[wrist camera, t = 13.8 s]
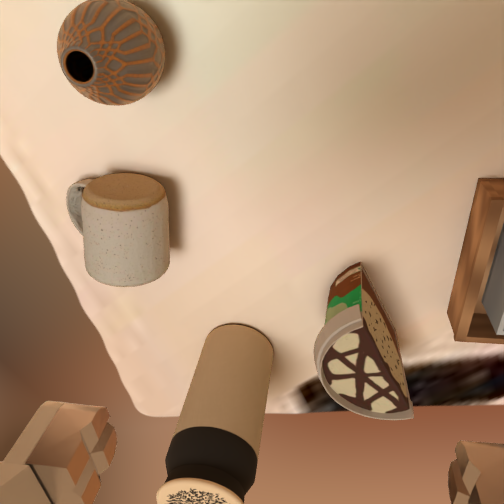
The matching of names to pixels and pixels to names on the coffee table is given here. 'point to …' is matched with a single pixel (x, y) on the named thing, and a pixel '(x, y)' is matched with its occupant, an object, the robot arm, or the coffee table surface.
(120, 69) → the vase
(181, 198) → the coffee table surface
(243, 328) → the travel mug
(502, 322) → the small crate
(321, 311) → the coffee table surface
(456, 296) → the big crate
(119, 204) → the ceramic mug
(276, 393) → the coffee table surface
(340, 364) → the food container
